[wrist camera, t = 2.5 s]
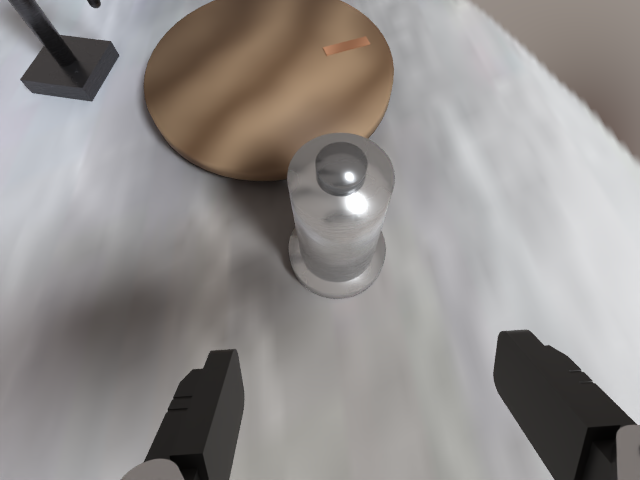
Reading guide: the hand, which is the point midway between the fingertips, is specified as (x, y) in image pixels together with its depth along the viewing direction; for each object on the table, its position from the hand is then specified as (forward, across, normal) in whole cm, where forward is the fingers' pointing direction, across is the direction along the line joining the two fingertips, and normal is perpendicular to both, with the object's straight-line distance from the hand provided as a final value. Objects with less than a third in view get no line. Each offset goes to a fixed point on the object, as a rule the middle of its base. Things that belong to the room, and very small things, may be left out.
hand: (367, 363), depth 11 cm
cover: (+16, 0, +3) cm, 16 cm away
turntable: (+26, +4, -9) cm, 28 cm away
